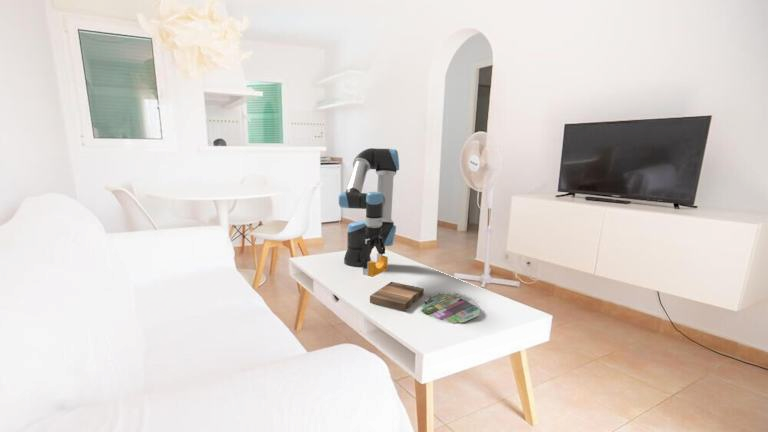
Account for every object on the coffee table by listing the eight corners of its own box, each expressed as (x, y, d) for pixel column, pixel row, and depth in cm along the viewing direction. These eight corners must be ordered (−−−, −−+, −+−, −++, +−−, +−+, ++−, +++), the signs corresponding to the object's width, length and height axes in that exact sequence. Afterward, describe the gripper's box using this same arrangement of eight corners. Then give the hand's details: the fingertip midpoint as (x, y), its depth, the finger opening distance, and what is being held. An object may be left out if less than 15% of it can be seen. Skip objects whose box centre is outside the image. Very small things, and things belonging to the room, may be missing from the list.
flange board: (391, 287, 172) (391, 281, 172) (423, 294, 165) (423, 288, 165) (369, 302, 155) (370, 295, 154) (404, 311, 148) (405, 303, 147)
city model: (407, 316, 148) (406, 302, 147) (436, 293, 166) (436, 280, 165) (465, 337, 134) (465, 322, 132) (490, 309, 152) (490, 296, 150)
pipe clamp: (379, 267, 179) (380, 255, 178) (387, 269, 177) (387, 256, 176) (364, 274, 170) (365, 261, 168) (372, 277, 167) (372, 263, 166)
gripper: (367, 232, 158) (366, 280, 162) (393, 222, 179) (391, 264, 183) (352, 230, 161) (352, 277, 165) (379, 220, 182) (378, 262, 186)
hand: (372, 270), depth 174 cm, fingers closed on pipe clamp, 12 cm apart
